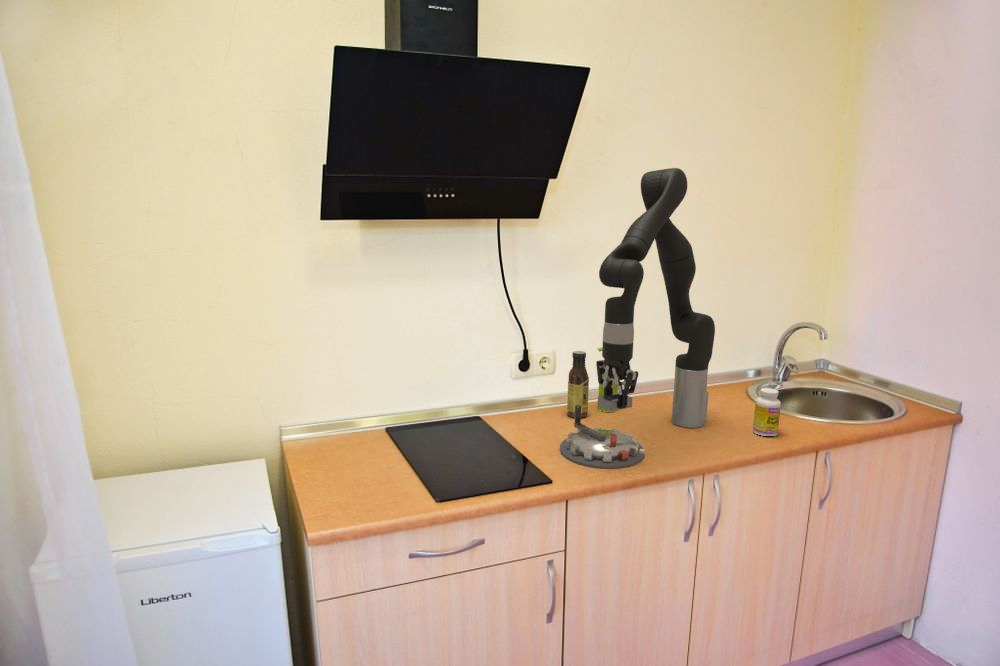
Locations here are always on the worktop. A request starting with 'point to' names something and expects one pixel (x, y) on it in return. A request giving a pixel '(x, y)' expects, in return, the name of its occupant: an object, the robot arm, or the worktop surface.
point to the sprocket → (600, 442)
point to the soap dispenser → (601, 389)
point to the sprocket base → (599, 462)
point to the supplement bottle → (767, 413)
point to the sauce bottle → (578, 385)
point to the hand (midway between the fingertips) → (614, 404)
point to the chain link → (612, 402)
